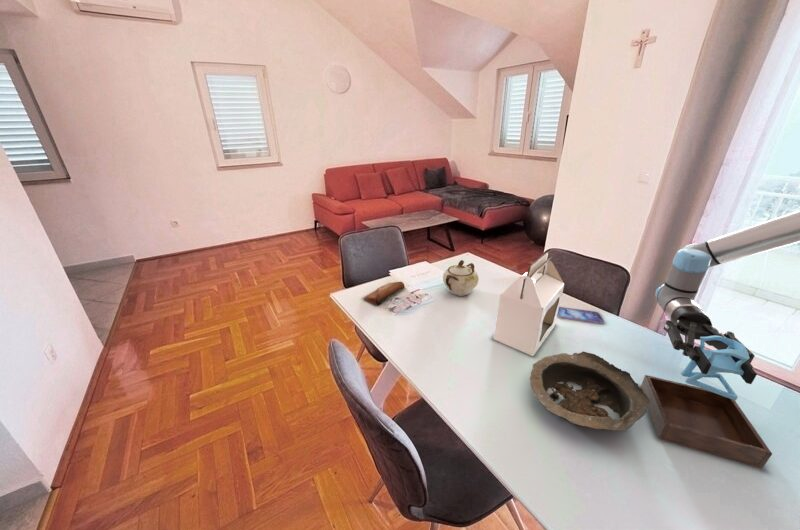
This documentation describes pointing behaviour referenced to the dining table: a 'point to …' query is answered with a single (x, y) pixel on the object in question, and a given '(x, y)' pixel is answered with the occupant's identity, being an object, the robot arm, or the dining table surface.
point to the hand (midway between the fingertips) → (728, 373)
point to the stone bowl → (588, 391)
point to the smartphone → (579, 315)
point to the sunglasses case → (384, 292)
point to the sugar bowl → (460, 278)
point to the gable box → (529, 307)
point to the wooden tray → (703, 421)
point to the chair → (718, 365)
